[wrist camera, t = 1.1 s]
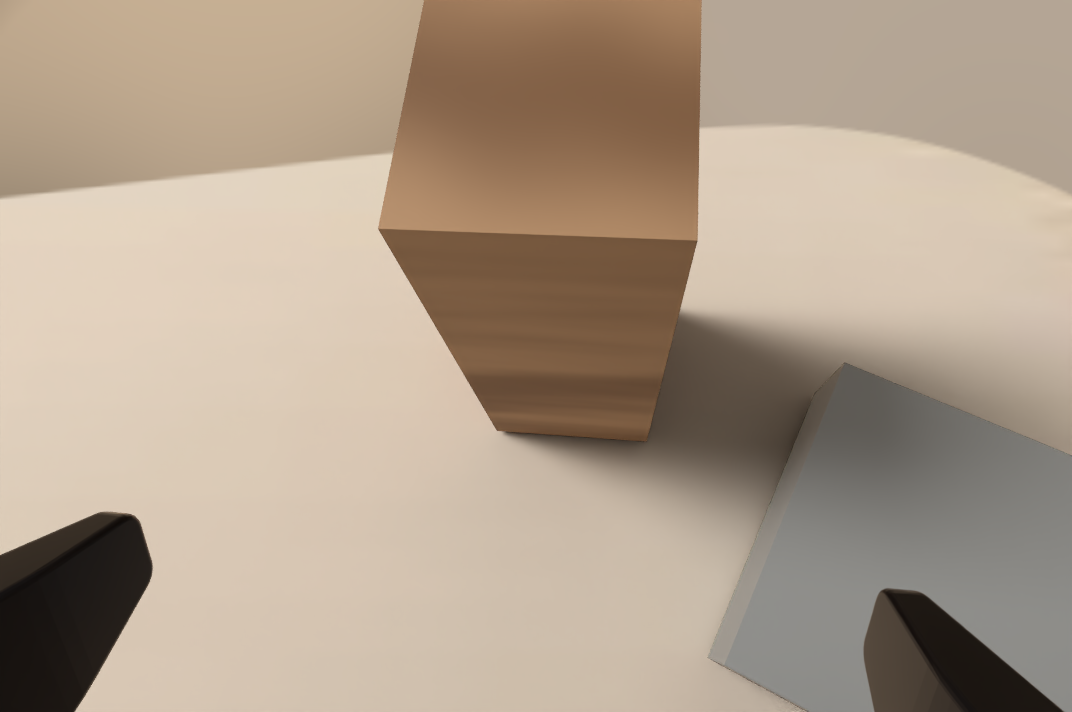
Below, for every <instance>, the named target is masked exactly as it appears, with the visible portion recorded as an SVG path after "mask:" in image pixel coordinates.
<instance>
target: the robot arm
mask: <svg viewBox="0 0 1072 712" xmlns="http://www.w3.org/2000/svg"><path fill="white" fill-rule="evenodd" d="M152 570H153V565H152V560H151V557H150V553H149V550H148V547H147V543H146V540H145V537H144V533H143V530H142V527H141V524H140V521H139V520H138V519H137V518H136V517H135V516H134V515H131V514H127V513H117V512H100V513H97V514H94V515H92V516H90V517H87V518H85V519H83V520H80V521H78V522H76V523H73V524H71V525H69V526H66V527H64V528H62V529H60V530H57V531H55V532H53V533H50V534H48V535H46V536H43V537H41V538H39V539H36V540H34V541H32V542H29V543H27V544H25V545H23V546H20V547H18V548H16V549H13V550H11V551H9V552H6V553H4V554H2V555H0V712H75V710H76V709H77V707H78V706H79V704H80V703H81V701H82V700H83V698H84V697H85V695H86V693H87V692H88V690H89V688H90V687H91V685H92V683H93V681H94V680H95V678H96V676H97V675H98V673H99V671H100V669H101V668H102V666H103V664H104V662H105V661H106V659H107V657H108V655H109V653H110V652H111V650H112V648H113V646H114V645H115V643H116V641H117V639H118V638H119V636H120V634H121V632H122V630H123V629H124V627H125V625H126V623H127V622H128V620H129V618H130V616H131V615H132V613H133V611H134V609H135V607H136V606H137V604H138V602H139V600H140V599H141V597H142V595H143V593H144V591H145V590H146V588H147V586H148V584H149V582H150V579H151V576H152ZM863 655H864V664H865V669H866V674H867V679H868V683H869V688H870V693H871V698H872V703H873V708H874V712H1064V711H1063V710H1062V709H1061V708H1059V707H1058V706H1057V705H1056V704H1055V703H1054V702H1052V701H1051V700H1050V699H1049V698H1048V697H1046V696H1045V695H1044V694H1043V693H1042V692H1041V691H1039V690H1038V689H1037V688H1036V687H1035V686H1033V685H1032V684H1031V683H1030V682H1029V681H1027V680H1026V679H1025V678H1024V677H1023V676H1022V675H1020V674H1019V673H1018V672H1017V671H1016V670H1014V669H1013V668H1012V667H1011V666H1010V665H1009V664H1007V663H1006V662H1005V661H1004V660H1003V659H1001V658H1000V657H999V656H998V655H997V654H995V653H994V652H993V651H992V650H991V649H990V648H988V647H987V646H986V645H985V644H984V643H982V642H981V641H980V640H979V639H978V638H977V637H975V636H974V635H973V634H972V633H971V632H969V631H968V630H967V629H966V628H965V627H963V626H962V625H961V624H960V623H959V622H958V621H956V620H955V619H954V618H953V617H952V616H950V615H949V614H948V613H947V612H946V611H945V610H943V609H942V608H941V607H940V606H939V605H937V604H936V603H935V602H934V601H933V600H931V599H930V598H929V597H928V596H926V595H925V594H923V593H921V592H919V591H914V590H903V589H893V588H886V589H883V590H881V591H880V592H879V594H878V596H877V598H876V601H875V604H874V608H873V612H872V615H871V619H870V622H869V626H868V629H867V633H866V636H865V640H864V647H863Z"/></svg>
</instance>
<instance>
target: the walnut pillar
mask: <svg viewBox="0 0 1072 712" xmlns="http://www.w3.org/2000/svg"><path fill="white" fill-rule="evenodd" d="M701 1H702V0H424V5H423V9H422V14H421V19H420V24H419V29H418V34H417V39H416V44H415V49H414V54H413V58H412V64H411V69H410V73H409V79H408V84H407V88H406V93H405V98H404V103H403V108H402V113H401V118H400V123H399V128H398V133H397V138H396V143H395V148H394V153H393V158H392V163H391V168H390V172H389V177H388V182H387V187H386V192H385V197H384V202H383V207H382V212H381V217H380V222H379V227H378V229H379V231H380V233H381V234H382V236H383V238H384V240H385V241H386V243H387V245H388V246H389V248H390V250H391V251H392V253H393V255H394V256H395V258H396V260H397V262H398V263H399V265H400V267H401V268H402V270H403V272H404V273H405V275H406V277H407V279H408V280H409V282H410V284H411V285H412V287H413V289H414V290H415V292H416V294H417V296H418V297H419V299H420V301H421V302H422V304H423V306H424V307H425V309H426V311H427V313H428V314H429V316H430V318H431V319H432V321H433V323H434V324H435V326H436V328H437V330H438V331H439V333H440V335H441V336H442V338H443V340H444V341H445V343H446V345H447V347H448V348H449V350H450V352H451V353H452V355H453V357H454V358H455V360H456V362H457V364H458V365H459V367H460V369H461V370H462V372H463V374H464V375H465V377H466V379H467V381H468V382H469V384H470V386H471V387H472V389H473V391H474V392H475V394H476V396H477V398H478V399H479V401H480V403H481V404H482V406H483V408H484V409H485V411H486V413H487V415H488V416H489V418H490V420H491V421H492V423H493V425H494V426H495V428H496V430H497V431H508V432H522V433H536V434H549V435H563V436H577V437H591V438H605V439H618V440H632V441H646V442H647V438H648V434H649V430H650V426H651V422H652V418H653V414H654V410H655V406H656V402H657V398H658V394H659V390H660V386H661V383H662V379H663V375H664V371H665V367H666V363H667V359H668V355H669V351H670V347H671V343H672V339H673V335H674V331H675V327H676V323H677V319H678V315H679V311H680V307H681V303H682V300H683V296H684V292H685V288H686V284H687V280H688V276H689V272H690V268H691V264H692V260H693V256H694V252H695V248H696V244H697V236H698V178H699V118H700V61H701V3H702V2H701Z"/></svg>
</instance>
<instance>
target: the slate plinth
mask: <svg viewBox="0 0 1072 712" xmlns="http://www.w3.org/2000/svg"><path fill="white" fill-rule="evenodd" d="M886 588H893V589H903V590H914V591H919V592H921V593H923V594H925V595H926V596H928V597H929V598H930V599H931V600H933V601H934V602H935V603H936V604H937V605H939V606H940V607H941V608H942V609H943V610H945V611H946V612H947V613H948V614H949V615H950V616H952V617H953V618H954V619H955V620H956V621H958V622H959V623H960V624H961V625H962V626H963V627H965V628H966V629H967V630H968V631H969V632H971V633H972V634H973V635H974V636H975V637H977V638H978V639H979V640H980V641H981V642H982V643H984V644H985V645H986V646H987V647H988V648H990V649H991V650H992V651H993V652H994V653H995V654H997V655H998V656H999V657H1000V658H1001V659H1003V660H1004V661H1005V662H1006V663H1007V664H1009V665H1010V666H1011V667H1012V668H1013V669H1014V670H1016V671H1017V672H1018V673H1019V674H1020V675H1022V676H1023V677H1024V678H1025V679H1026V680H1027V681H1029V682H1030V683H1031V684H1032V685H1033V686H1035V687H1036V688H1037V689H1038V690H1039V691H1041V692H1042V693H1043V694H1044V695H1045V696H1046V697H1048V698H1049V699H1050V700H1051V701H1052V702H1054V703H1055V704H1056V705H1057V706H1058V707H1059V708H1061V709H1062V710H1063V711H1064V712H1072V455H1069V454H1067V453H1064V452H1062V451H1059V450H1057V449H1054V448H1052V447H1050V446H1047V445H1045V444H1042V443H1040V442H1037V441H1035V440H1033V439H1030V438H1028V437H1025V436H1023V435H1020V434H1018V433H1015V432H1013V431H1011V430H1008V429H1006V428H1003V427H1001V426H998V425H996V424H993V423H991V422H989V421H986V420H984V419H981V418H979V417H976V416H974V415H971V414H969V413H967V412H964V411H962V410H959V409H957V408H954V407H952V406H950V405H947V404H945V403H942V402H940V401H937V400H935V399H932V398H930V397H928V396H925V395H923V394H920V393H918V392H915V391H913V390H910V389H908V388H906V387H903V386H901V385H898V384H896V383H893V382H891V381H889V380H886V379H884V378H881V377H879V376H876V375H874V374H871V373H869V372H867V371H864V370H862V369H859V368H857V367H854V366H852V365H849V364H847V363H844V364H843V365H842V366H841V367H840V368H839V369H838V370H837V371H836V372H835V373H834V374H833V375H832V376H831V377H830V378H829V379H828V380H827V381H826V382H825V383H824V384H823V385H822V387H821V388H820V389H819V390H818V391H817V392H816V393H815V394H814V396H813V399H812V401H811V404H810V406H809V409H808V411H807V414H806V416H805V419H804V421H803V423H802V426H801V428H800V431H799V433H798V436H797V438H796V441H795V443H794V446H793V448H792V451H791V453H790V455H789V458H788V460H787V463H786V465H785V468H784V470H783V473H782V475H781V478H780V480H779V483H778V485H777V488H776V490H775V492H774V495H773V497H772V500H771V502H770V505H769V507H768V510H767V512H766V515H765V517H764V520H763V522H762V524H761V527H760V529H759V532H758V534H757V537H756V539H755V542H754V544H753V547H752V549H751V552H750V554H749V556H748V559H747V561H746V564H745V566H744V569H743V571H742V574H741V576H740V579H739V581H738V584H737V586H736V588H735V591H734V593H733V596H732V598H731V601H730V603H729V606H728V608H727V611H726V613H725V616H724V618H723V621H722V623H721V625H720V628H719V630H718V633H717V635H716V638H715V640H714V643H713V645H712V648H711V650H710V653H709V655H708V657H707V658H709V659H711V660H713V661H715V662H716V663H718V664H720V665H722V666H724V667H726V668H727V669H729V670H731V671H733V672H735V673H737V674H739V675H740V676H742V677H744V678H746V679H748V680H750V681H751V682H753V683H755V684H757V685H759V686H761V687H763V688H764V689H766V690H768V691H770V692H772V693H774V694H776V695H777V696H779V697H781V698H783V699H785V700H787V701H788V702H790V703H792V704H794V705H796V706H798V707H800V708H801V709H803V710H805V711H807V712H874V708H873V703H872V698H871V693H870V688H869V683H868V679H867V674H866V669H865V664H864V655H863V647H864V640H865V636H866V633H867V629H868V626H869V622H870V619H871V615H872V612H873V608H874V604H875V601H876V598H877V596H878V594H879V592H880V591H881V590H883V589H886Z"/></svg>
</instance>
